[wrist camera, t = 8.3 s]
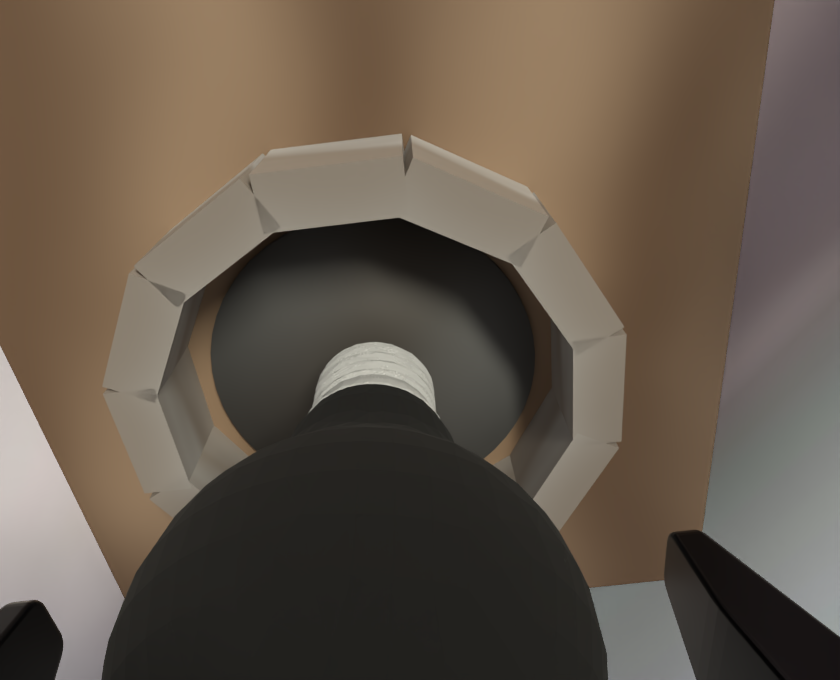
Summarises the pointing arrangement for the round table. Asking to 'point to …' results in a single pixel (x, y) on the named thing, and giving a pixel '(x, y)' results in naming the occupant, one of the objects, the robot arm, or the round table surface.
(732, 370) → the round table surface
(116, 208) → the socket base
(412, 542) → the light bulb
